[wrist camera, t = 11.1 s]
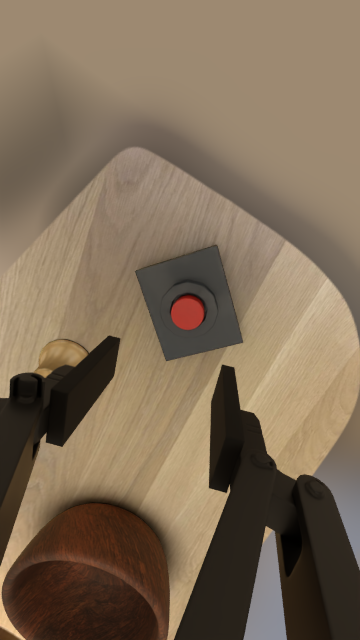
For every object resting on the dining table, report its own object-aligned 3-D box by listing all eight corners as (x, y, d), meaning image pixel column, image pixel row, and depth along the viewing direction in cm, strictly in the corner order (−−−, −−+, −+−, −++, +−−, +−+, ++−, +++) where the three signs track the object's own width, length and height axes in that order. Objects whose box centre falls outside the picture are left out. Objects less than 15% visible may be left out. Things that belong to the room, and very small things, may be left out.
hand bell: (78, 401, 42) (1, 494, 27) (31, 371, 42) (-75, 448, 26) (104, 360, 40) (35, 438, 24) (54, 327, 39) (-48, 385, 24)
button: (169, 299, 32) (166, 303, 31) (199, 291, 32) (198, 294, 30) (178, 328, 33) (176, 333, 31) (208, 320, 32) (207, 325, 31)
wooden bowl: (79, 600, 55) (50, 678, 46) (16, 504, 50) (-32, 569, 40) (198, 585, 50) (194, 669, 40) (142, 475, 45) (121, 541, 35)
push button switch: (139, 269, 35) (130, 272, 32) (216, 244, 33) (217, 245, 30) (168, 354, 38) (163, 367, 34) (241, 336, 36) (244, 348, 32)
